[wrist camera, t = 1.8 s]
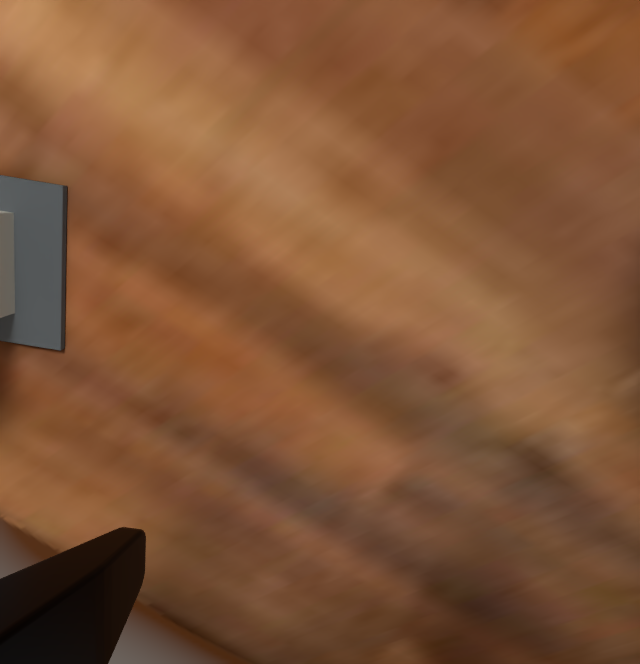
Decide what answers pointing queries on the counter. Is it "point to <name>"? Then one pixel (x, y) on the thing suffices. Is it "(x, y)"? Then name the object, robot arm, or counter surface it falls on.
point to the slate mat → (37, 262)
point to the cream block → (7, 264)
